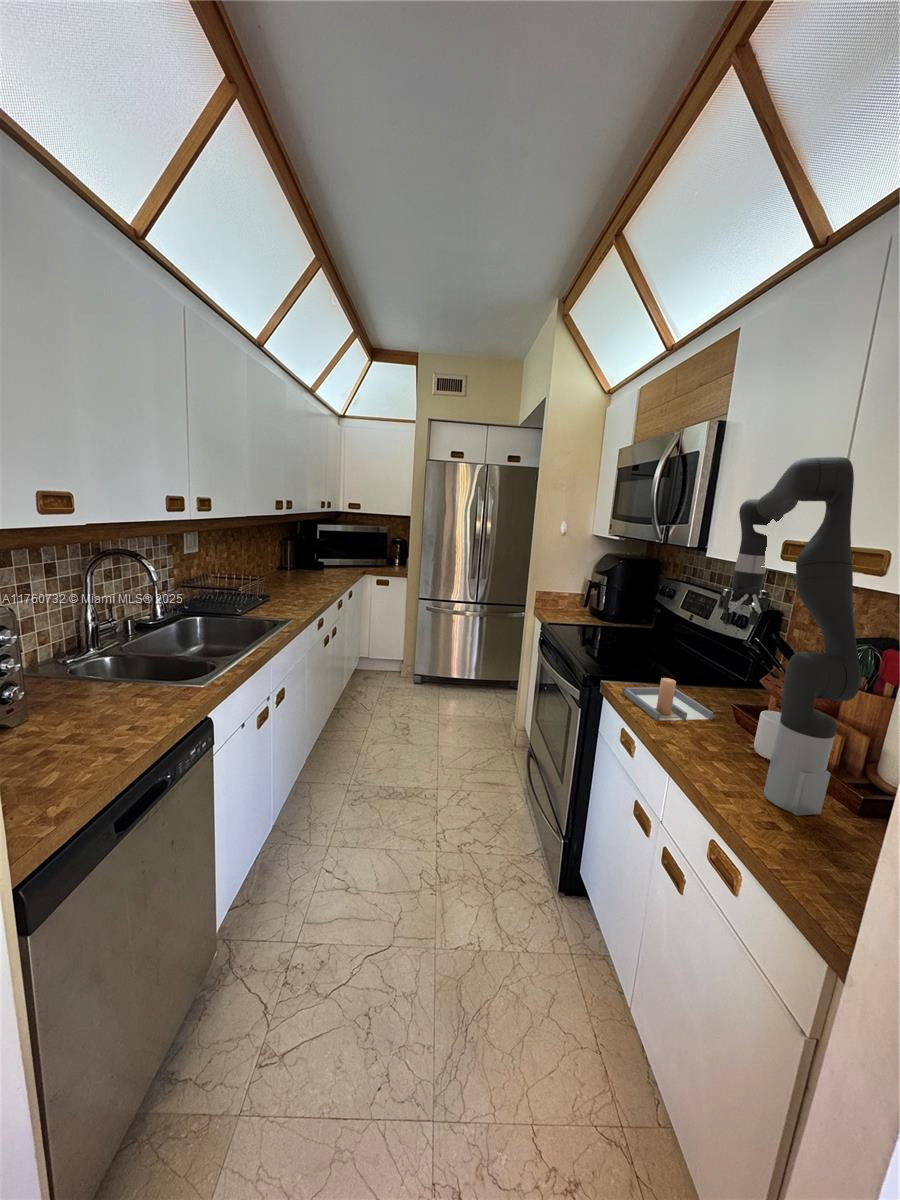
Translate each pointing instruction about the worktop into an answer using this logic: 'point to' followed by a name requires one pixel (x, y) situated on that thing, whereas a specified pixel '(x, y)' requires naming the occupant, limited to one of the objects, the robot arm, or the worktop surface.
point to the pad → (668, 715)
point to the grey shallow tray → (680, 706)
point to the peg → (666, 696)
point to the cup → (766, 733)
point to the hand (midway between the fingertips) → (739, 624)
